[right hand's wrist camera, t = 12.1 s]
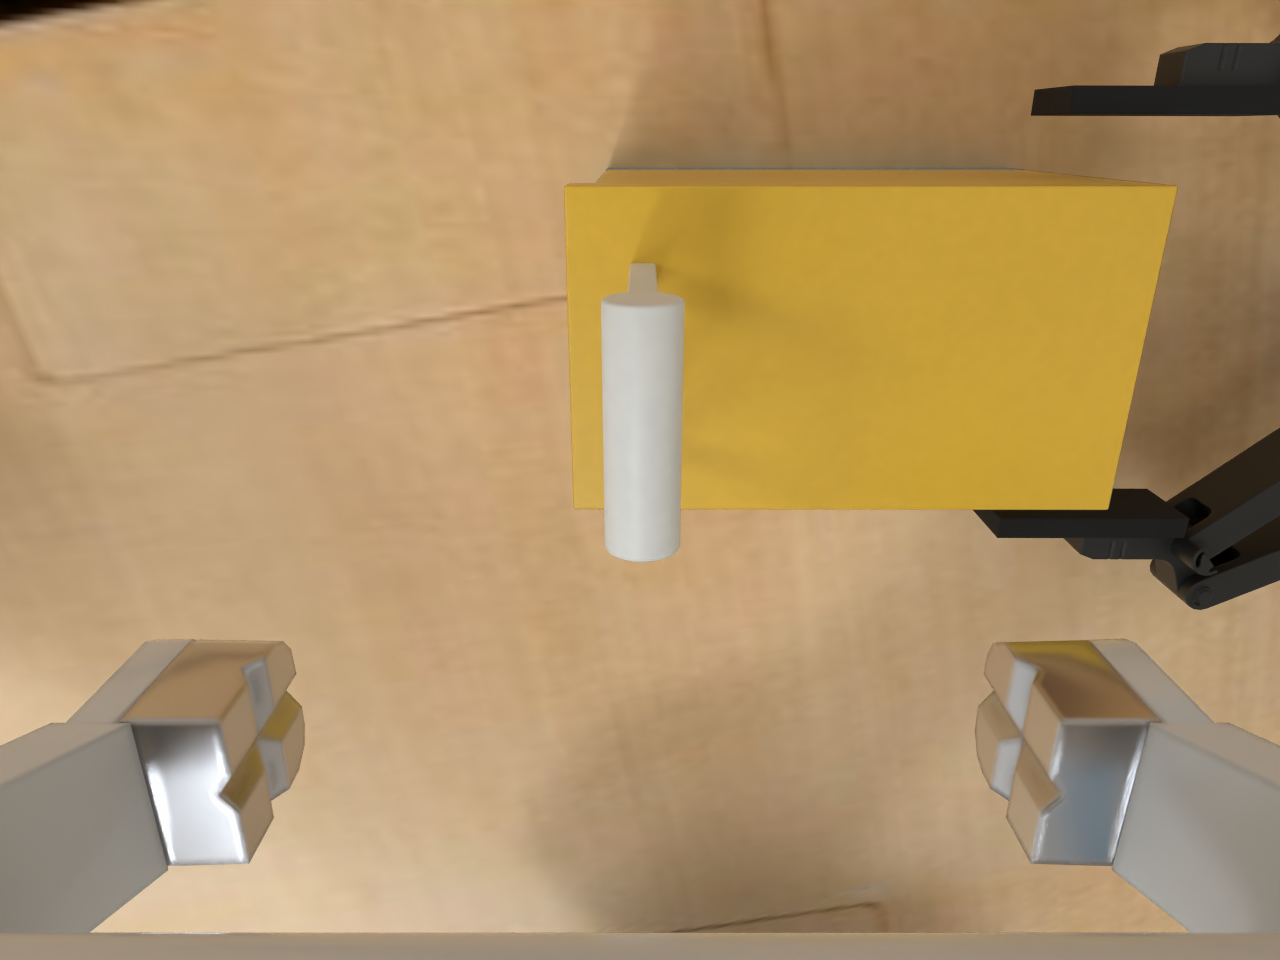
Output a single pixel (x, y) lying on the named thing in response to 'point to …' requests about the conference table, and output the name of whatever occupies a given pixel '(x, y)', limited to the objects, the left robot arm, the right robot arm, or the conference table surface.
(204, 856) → the right robot arm
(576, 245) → the lid
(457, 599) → the conference table surface
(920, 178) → the chest
